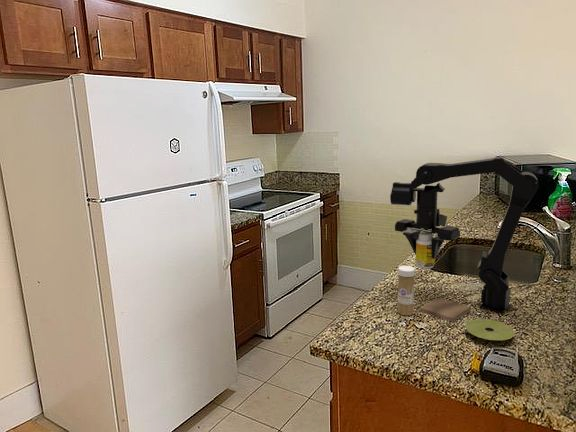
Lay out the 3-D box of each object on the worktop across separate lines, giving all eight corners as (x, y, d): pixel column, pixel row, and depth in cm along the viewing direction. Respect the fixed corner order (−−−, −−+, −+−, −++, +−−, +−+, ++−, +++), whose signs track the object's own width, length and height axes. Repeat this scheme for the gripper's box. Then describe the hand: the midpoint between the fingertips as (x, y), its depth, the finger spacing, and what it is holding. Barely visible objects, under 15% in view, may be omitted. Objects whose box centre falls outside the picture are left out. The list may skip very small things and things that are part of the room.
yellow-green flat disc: (498, 352, 100) (499, 344, 100) (455, 334, 109) (456, 327, 109) (522, 337, 107) (523, 330, 106) (480, 321, 116) (480, 314, 115)
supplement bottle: (426, 270, 127) (427, 237, 125) (411, 265, 132) (412, 233, 130) (438, 266, 130) (439, 233, 128) (423, 262, 135) (424, 230, 133)
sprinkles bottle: (396, 314, 121) (397, 269, 119) (398, 308, 126) (399, 264, 123) (412, 317, 120) (414, 271, 117) (414, 310, 124) (415, 265, 121)
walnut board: (470, 310, 122) (470, 307, 122) (453, 321, 116) (453, 318, 116) (438, 300, 130) (438, 297, 130) (420, 310, 123) (420, 307, 123)
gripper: (470, 205, 125) (467, 256, 129) (414, 199, 139) (413, 245, 142) (451, 211, 118) (449, 265, 122) (393, 204, 132) (393, 253, 135)
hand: (425, 256), depth 130 cm, fingers closed on supplement bottle, 5 cm apart
